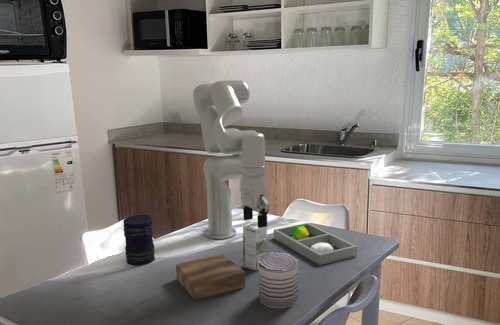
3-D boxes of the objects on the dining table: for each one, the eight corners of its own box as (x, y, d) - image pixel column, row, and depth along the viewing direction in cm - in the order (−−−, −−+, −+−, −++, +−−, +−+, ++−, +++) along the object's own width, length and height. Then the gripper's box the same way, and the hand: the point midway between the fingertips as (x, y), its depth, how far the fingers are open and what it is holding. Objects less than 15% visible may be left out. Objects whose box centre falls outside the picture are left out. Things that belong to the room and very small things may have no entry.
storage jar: (122, 266, 156) (119, 223, 153) (130, 254, 165) (127, 215, 162) (151, 265, 155) (148, 223, 152) (158, 254, 165) (155, 214, 162)
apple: (294, 220, 177) (309, 226, 169) (304, 228, 180) (319, 234, 173) (284, 235, 175) (299, 242, 168) (294, 243, 179) (309, 250, 171)
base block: (176, 279, 145) (176, 264, 144) (223, 268, 152) (222, 254, 151) (195, 300, 131) (194, 283, 130) (245, 287, 138) (244, 271, 137)
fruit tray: (273, 238, 179) (273, 229, 178) (307, 231, 186) (307, 222, 186) (319, 265, 153) (319, 255, 152) (357, 255, 160) (357, 246, 160)
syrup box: (253, 261, 157) (253, 221, 154) (267, 265, 153) (267, 224, 151) (243, 267, 153) (242, 225, 150) (256, 271, 149) (256, 228, 146)
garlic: (313, 258, 159) (314, 248, 158) (307, 251, 166) (307, 241, 165) (335, 256, 161) (335, 246, 160) (328, 249, 167) (328, 239, 166)
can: (278, 286, 139) (278, 248, 136) (306, 299, 130) (307, 259, 128) (250, 298, 131) (249, 259, 129) (278, 313, 123) (278, 271, 121)
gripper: (231, 169, 153) (233, 218, 155) (256, 177, 137) (257, 232, 140) (251, 166, 156) (252, 215, 159) (277, 174, 141) (278, 228, 144)
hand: (255, 223), depth 150 cm, fingers open, 9 cm apart
